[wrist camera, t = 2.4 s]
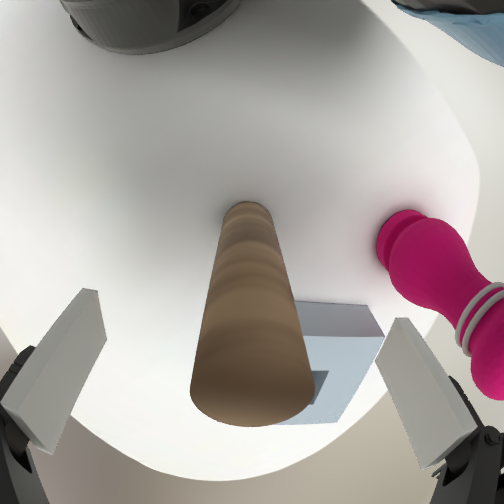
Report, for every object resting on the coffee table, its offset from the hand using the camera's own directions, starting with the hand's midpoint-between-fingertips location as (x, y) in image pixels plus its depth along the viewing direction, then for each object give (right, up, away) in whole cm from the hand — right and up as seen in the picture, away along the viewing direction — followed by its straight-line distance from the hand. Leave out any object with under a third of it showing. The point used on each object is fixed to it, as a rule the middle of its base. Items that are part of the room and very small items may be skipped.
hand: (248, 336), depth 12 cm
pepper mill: (+14, +5, +13) cm, 20 cm away
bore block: (+4, -8, +18) cm, 20 cm away
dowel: (0, +6, +12) cm, 13 cm away
